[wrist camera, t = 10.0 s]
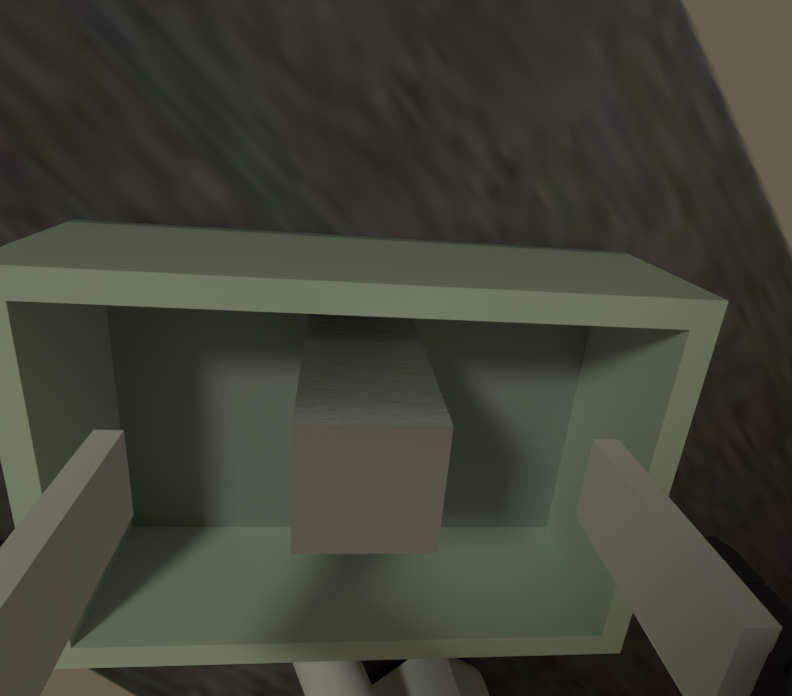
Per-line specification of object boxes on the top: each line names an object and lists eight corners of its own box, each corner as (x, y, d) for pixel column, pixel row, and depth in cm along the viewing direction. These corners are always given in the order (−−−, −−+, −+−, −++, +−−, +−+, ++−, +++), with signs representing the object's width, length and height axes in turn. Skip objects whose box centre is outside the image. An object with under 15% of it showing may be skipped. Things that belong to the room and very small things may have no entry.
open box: (73, 219, 21) (-42, 262, 15) (623, 251, 24) (728, 300, 17) (116, 536, 27) (45, 669, 20) (558, 535, 29) (620, 653, 23)
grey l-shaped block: (310, 300, 23) (291, 423, 14) (408, 305, 23) (453, 427, 14) (306, 503, 27) (289, 708, 17) (391, 504, 27) (417, 703, 18)
